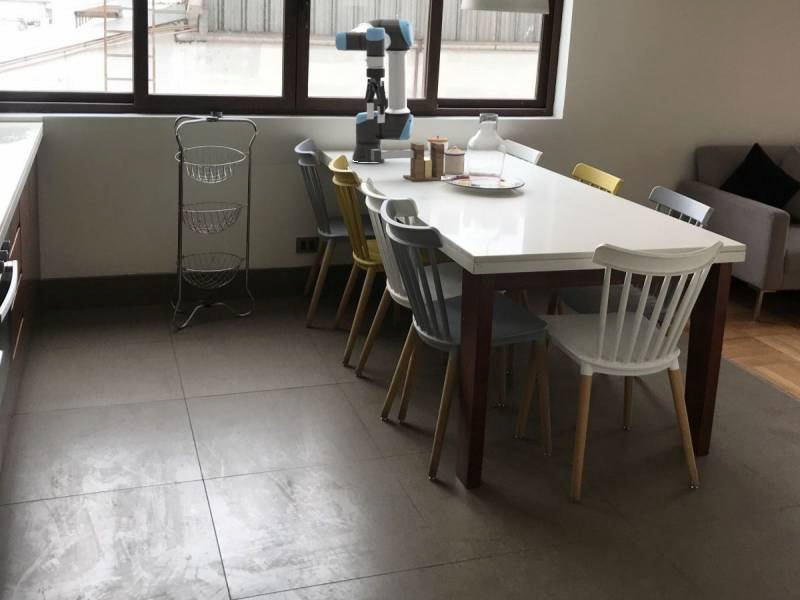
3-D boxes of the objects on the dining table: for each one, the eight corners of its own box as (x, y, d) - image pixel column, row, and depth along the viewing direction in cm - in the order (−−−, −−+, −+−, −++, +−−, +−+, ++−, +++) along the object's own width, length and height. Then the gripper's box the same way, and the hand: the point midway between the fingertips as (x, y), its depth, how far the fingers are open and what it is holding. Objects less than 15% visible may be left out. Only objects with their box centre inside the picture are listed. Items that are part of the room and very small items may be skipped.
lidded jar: (441, 156, 467) (441, 137, 464) (422, 154, 473) (423, 135, 470) (452, 154, 476) (452, 135, 473) (434, 152, 481) (434, 133, 479)
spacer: (418, 175, 405) (419, 157, 403) (425, 175, 406) (425, 157, 404) (424, 178, 399) (425, 160, 397) (431, 177, 400) (431, 160, 398)
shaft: (370, 159, 395) (370, 149, 393) (415, 157, 401) (416, 147, 400) (374, 161, 391) (374, 150, 389) (419, 159, 397) (419, 148, 396)
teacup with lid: (467, 173, 417) (468, 147, 414) (449, 175, 414) (449, 148, 410) (456, 169, 428) (456, 143, 424) (437, 170, 424) (438, 144, 421)
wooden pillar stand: (403, 177, 406) (403, 142, 401) (439, 175, 411) (440, 140, 407) (413, 182, 395) (413, 145, 391) (450, 180, 401) (451, 144, 396)
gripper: (357, 65, 393) (357, 117, 399) (376, 69, 370) (376, 124, 377) (374, 65, 395) (374, 117, 402) (395, 69, 373) (394, 124, 379)
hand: (375, 120), depth 389 cm, fingers open, 13 cm apart
